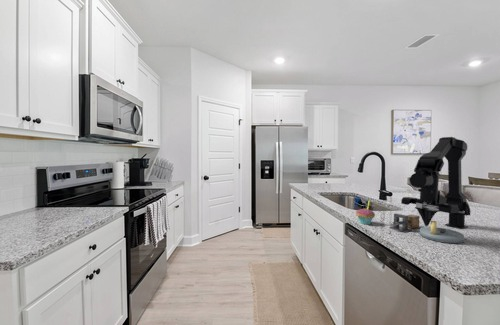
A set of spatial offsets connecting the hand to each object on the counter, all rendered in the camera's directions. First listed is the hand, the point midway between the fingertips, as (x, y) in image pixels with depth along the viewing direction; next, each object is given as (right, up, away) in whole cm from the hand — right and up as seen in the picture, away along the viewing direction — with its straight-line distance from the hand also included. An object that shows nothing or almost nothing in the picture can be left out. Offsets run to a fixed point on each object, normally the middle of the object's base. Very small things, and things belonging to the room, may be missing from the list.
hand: (426, 225), depth 99 cm
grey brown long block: (-1, -4, +13) cm, 13 cm away
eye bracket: (-3, -5, +12) cm, 13 cm away
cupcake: (-15, -5, +22) cm, 27 cm away
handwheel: (+6, -5, +1) cm, 8 cm away
